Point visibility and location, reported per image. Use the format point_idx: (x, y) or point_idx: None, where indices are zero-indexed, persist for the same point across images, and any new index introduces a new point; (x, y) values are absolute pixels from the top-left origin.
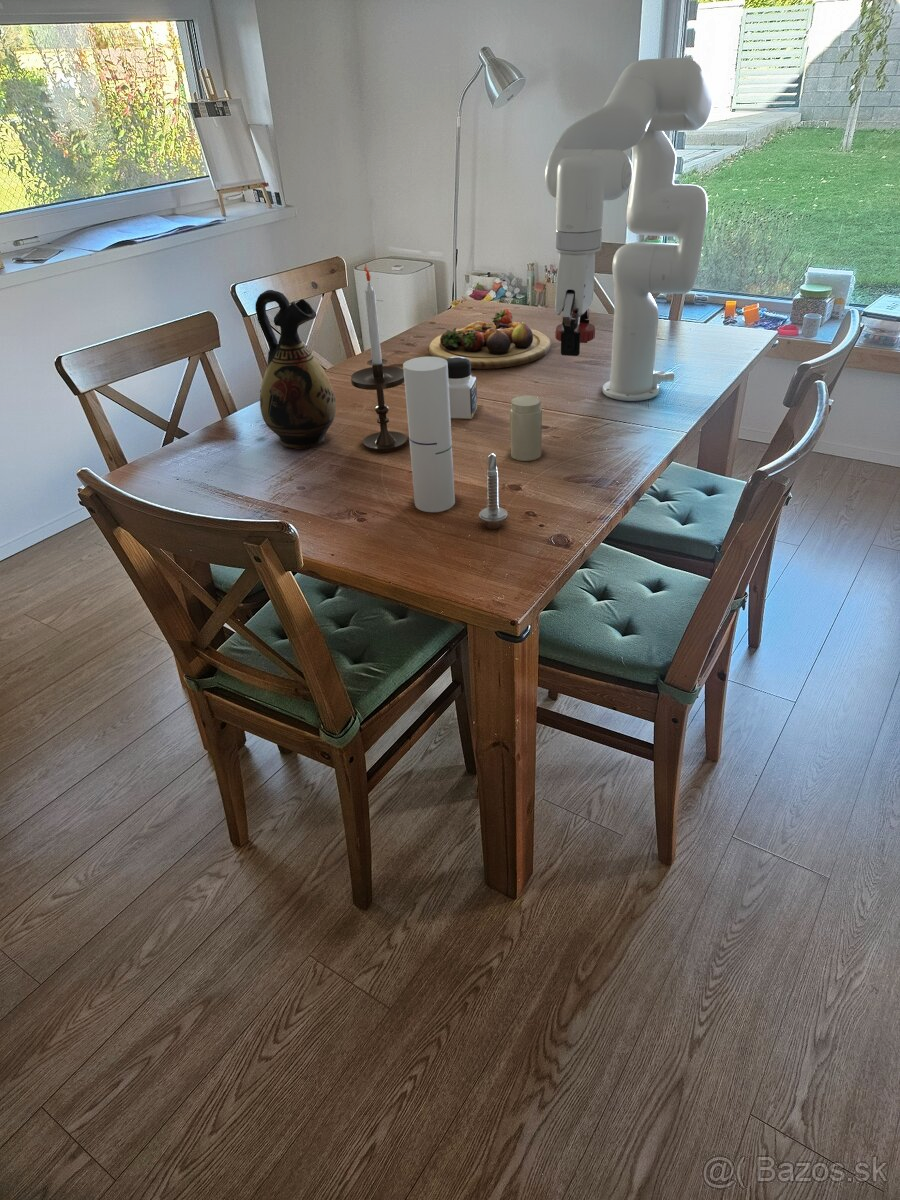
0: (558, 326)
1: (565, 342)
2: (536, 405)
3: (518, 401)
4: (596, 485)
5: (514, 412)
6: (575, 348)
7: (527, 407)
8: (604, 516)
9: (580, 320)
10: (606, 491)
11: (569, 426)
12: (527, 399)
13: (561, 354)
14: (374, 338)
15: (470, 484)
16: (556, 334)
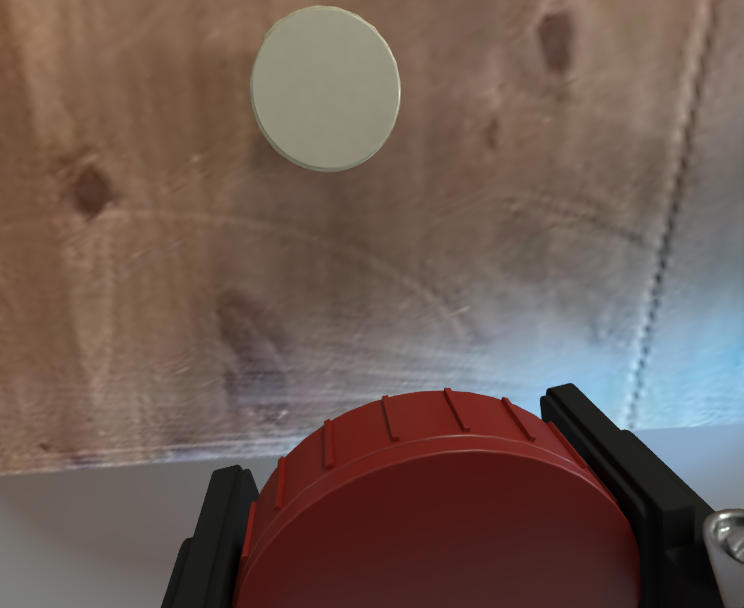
0: (419, 476)
1: (169, 599)
2: (307, 164)
3: (300, 58)
4: (236, 381)
5: (253, 66)
6: None
7: (267, 134)
8: (95, 462)
9: (660, 592)
10: (218, 414)
11: (589, 136)
12: (345, 91)
13: (214, 471)
14: None
15: (15, 39)
16: (305, 466)
